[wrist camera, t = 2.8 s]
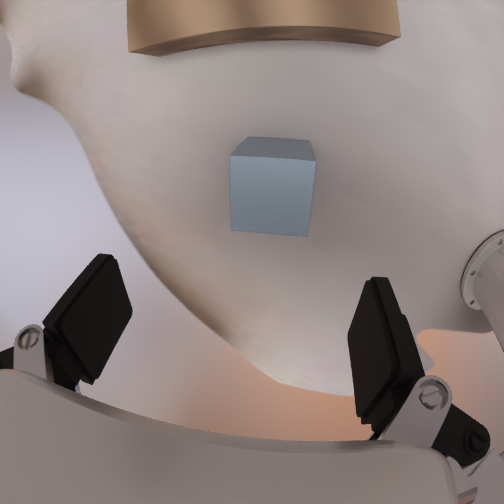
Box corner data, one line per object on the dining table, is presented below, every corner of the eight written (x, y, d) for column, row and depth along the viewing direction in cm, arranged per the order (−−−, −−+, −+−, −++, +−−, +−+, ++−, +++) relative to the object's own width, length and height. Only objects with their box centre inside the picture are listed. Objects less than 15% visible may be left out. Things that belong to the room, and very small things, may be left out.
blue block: (309, 140, 23) (316, 161, 17) (304, 196, 26) (307, 236, 20) (248, 136, 24) (229, 155, 17) (247, 192, 27) (230, 230, 20)
